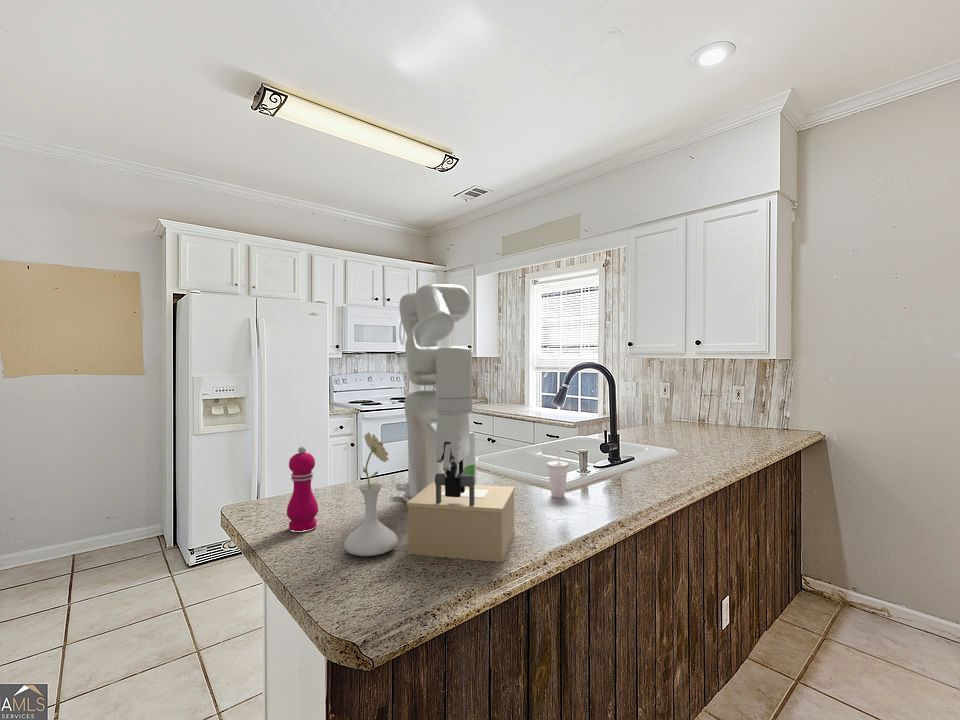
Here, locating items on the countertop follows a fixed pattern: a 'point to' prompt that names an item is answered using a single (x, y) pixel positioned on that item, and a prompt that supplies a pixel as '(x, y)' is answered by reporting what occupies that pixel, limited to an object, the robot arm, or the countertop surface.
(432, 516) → the carton
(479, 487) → the carton lid
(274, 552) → the countertop surface
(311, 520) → the pepper mill
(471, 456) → the skincare box
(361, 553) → the flower in vase
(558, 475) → the smoothie
